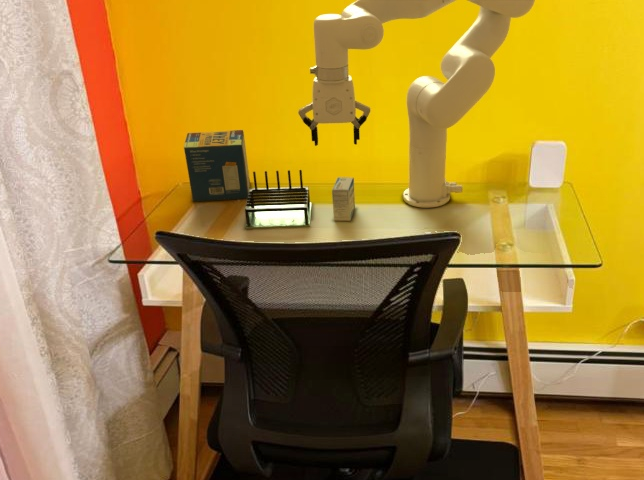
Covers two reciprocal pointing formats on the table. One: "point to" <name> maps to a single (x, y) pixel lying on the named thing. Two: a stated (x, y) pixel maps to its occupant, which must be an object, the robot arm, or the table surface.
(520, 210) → the table surface
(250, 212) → the dish rack
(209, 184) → the protein box
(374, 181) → the table surface
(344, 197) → the medicine box
